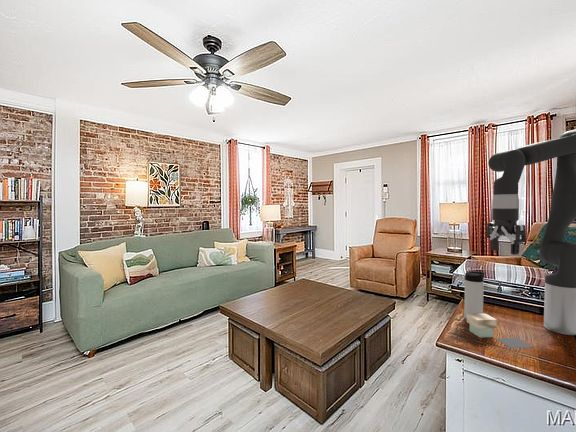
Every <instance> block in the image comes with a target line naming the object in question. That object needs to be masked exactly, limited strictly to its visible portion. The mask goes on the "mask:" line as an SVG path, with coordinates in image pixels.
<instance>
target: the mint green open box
mask: <svg viewBox="0 0 576 432" xmlns="http://www.w3.org/2000/svg"><path fill="white" fill-rule="evenodd" d="M469 332H470V333H472V334H473V335H475V336H476V337H478V338H481V339H482V338H483V339H485V338H494V328H480V329H477V328H476V327H474V326H472V325H471V324H469Z"/></svg>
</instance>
